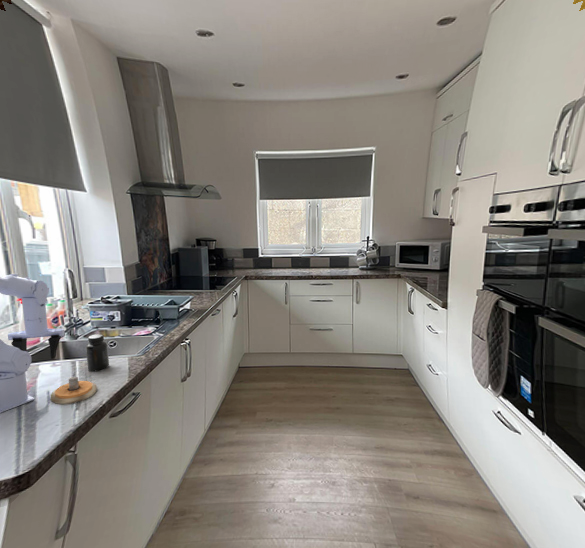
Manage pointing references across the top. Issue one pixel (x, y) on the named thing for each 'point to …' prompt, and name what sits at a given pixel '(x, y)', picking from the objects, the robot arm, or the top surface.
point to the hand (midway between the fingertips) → (39, 358)
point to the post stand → (73, 386)
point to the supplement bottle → (97, 353)
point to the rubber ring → (84, 388)
